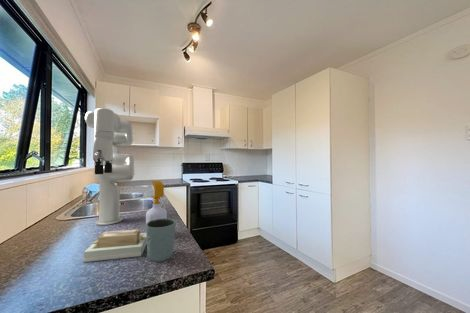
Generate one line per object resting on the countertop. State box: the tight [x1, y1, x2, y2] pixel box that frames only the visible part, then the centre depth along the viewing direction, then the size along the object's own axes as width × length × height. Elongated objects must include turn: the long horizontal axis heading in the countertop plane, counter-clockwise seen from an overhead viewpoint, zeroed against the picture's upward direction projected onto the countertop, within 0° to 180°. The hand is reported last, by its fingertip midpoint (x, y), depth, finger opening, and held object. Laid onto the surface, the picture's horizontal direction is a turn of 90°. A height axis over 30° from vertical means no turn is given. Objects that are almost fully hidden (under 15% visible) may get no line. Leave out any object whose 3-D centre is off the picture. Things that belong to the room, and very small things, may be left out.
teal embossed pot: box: [145, 217, 177, 263], centre depth 71 cm, size 10×10×12 cm
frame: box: [97, 228, 141, 248], centre depth 76 cm, size 6×13×5 cm, turn 104°
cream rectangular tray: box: [82, 232, 147, 263], centre depth 76 cm, size 15×18×4 cm
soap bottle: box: [145, 180, 168, 224], centre depth 91 cm, size 9×9×25 cm
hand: (103, 173), depth 90 cm, fingers open, 9 cm apart
